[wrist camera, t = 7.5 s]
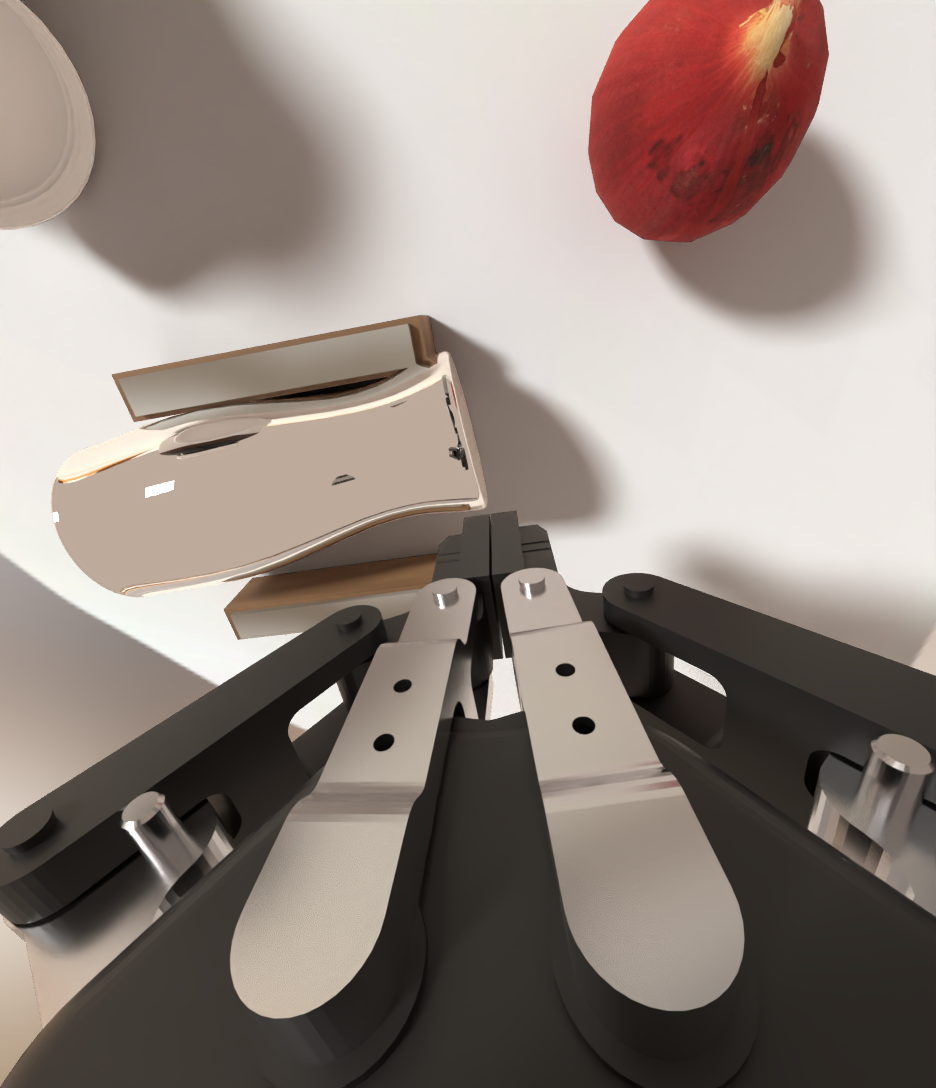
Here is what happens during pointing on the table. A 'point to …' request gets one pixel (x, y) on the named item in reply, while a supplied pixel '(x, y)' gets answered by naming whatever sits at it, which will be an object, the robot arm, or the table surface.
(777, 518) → the table surface
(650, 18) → the onion
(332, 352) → the cradle
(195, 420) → the beer glass
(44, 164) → the spread jar
